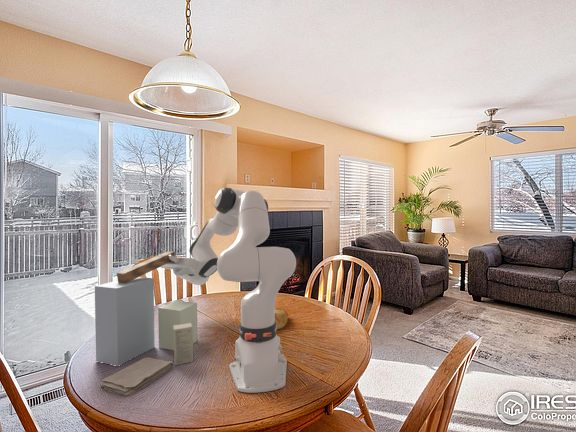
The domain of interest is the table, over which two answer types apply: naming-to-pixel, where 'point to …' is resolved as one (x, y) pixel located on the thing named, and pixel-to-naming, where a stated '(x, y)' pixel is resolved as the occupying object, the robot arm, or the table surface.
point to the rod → (143, 267)
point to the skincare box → (183, 343)
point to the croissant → (280, 318)
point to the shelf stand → (124, 320)
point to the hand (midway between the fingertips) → (164, 256)
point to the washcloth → (136, 376)
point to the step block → (176, 321)
